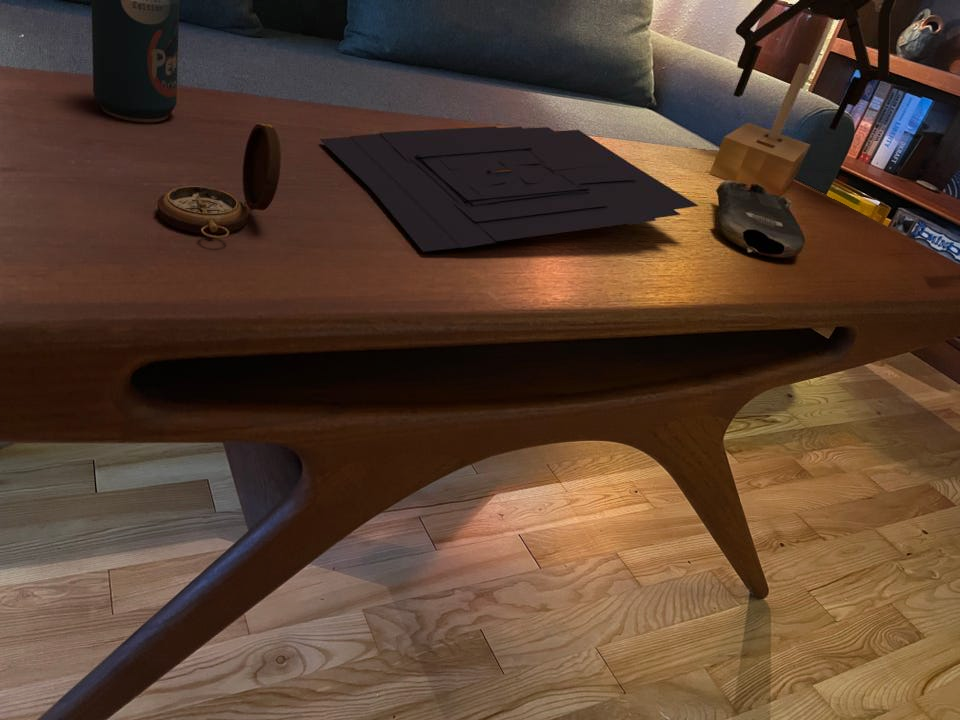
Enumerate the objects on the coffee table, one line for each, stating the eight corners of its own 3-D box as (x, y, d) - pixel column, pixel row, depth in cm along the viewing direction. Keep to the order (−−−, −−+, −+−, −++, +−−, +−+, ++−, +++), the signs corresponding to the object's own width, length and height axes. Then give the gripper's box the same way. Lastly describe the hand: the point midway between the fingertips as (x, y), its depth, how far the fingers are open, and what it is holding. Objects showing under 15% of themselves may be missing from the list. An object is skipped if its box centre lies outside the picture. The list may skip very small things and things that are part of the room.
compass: (148, 199, 57) (150, 100, 54) (256, 202, 61) (265, 110, 58) (168, 249, 52) (171, 143, 48) (285, 249, 56) (297, 151, 52)
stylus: (763, 173, 110) (810, 66, 102) (761, 175, 109) (809, 66, 101) (754, 169, 110) (800, 62, 103) (752, 171, 109) (798, 63, 101)
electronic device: (698, 211, 92) (716, 239, 78) (722, 167, 90) (744, 188, 76) (770, 244, 92) (800, 278, 78) (795, 201, 90) (831, 228, 76)
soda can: (171, 129, 70) (175, -14, 64) (86, 116, 68) (82, -33, 62) (179, 107, 76) (184, -27, 70) (101, 94, 74) (98, -45, 67)
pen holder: (794, 178, 112) (810, 144, 109) (777, 199, 100) (794, 161, 97) (733, 156, 114) (747, 122, 112) (709, 173, 102) (724, 136, 100)
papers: (704, 240, 75) (715, 205, 73) (421, 284, 61) (425, 242, 59) (564, 147, 91) (570, 116, 89) (317, 164, 78) (318, 129, 76)
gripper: (757, -94, 95) (691, 84, 106) (968, -38, 87) (874, 147, 98) (768, -88, 101) (705, 79, 112) (967, -35, 93) (878, 138, 104)
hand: (784, 111), depth 105 cm, fingers open, 12 cm apart
